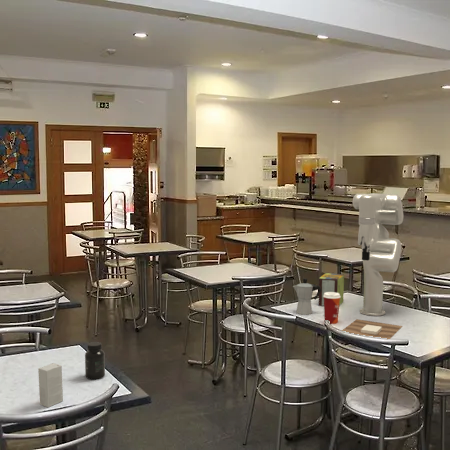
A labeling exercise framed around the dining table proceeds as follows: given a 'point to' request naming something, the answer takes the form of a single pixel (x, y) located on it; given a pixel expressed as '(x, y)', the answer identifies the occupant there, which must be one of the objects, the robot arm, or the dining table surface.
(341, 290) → the protein box
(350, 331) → the board
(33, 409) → the dining table surface
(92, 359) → the supplement bottle
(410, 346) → the dining table surface
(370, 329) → the tile
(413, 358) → the dining table surface
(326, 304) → the coffee cup
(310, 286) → the coffee maker
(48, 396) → the skincare box
